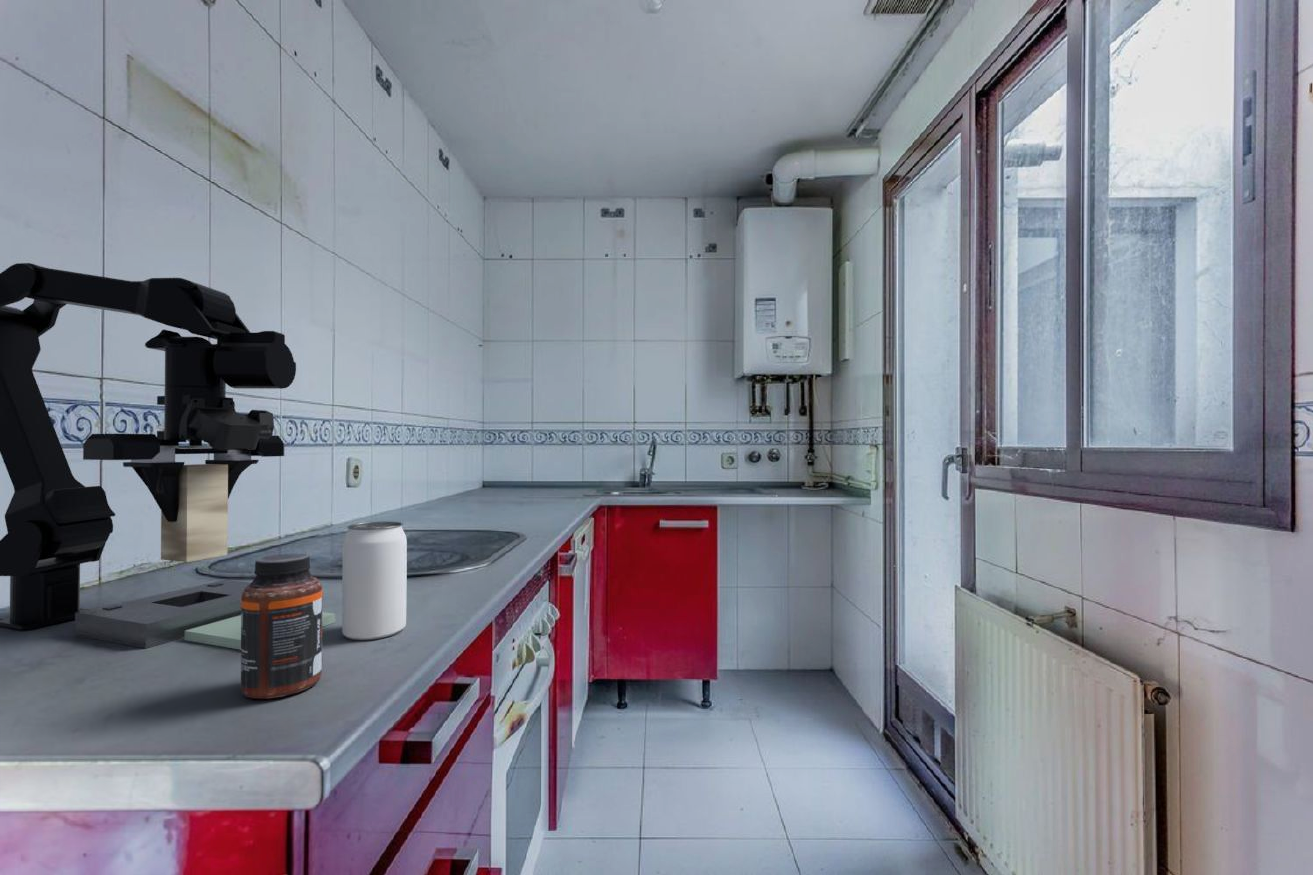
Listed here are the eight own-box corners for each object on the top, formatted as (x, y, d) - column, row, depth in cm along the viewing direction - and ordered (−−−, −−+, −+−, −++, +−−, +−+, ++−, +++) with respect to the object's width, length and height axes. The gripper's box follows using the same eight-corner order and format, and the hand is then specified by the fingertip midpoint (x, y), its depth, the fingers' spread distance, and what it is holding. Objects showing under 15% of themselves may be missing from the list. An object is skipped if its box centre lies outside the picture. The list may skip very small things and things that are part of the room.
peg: (160, 559, 67) (161, 465, 67) (202, 552, 71) (202, 464, 71) (186, 562, 66) (187, 465, 66) (227, 554, 70) (228, 464, 70)
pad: (184, 640, 61) (184, 630, 61) (274, 613, 71) (274, 605, 71) (250, 651, 58) (250, 641, 58) (335, 622, 68) (335, 613, 68)
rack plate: (75, 635, 63) (75, 611, 63) (226, 597, 78) (226, 578, 78) (145, 648, 59) (145, 623, 59) (290, 606, 74) (290, 586, 74)
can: (380, 643, 61) (381, 529, 61) (328, 639, 62) (328, 528, 62) (418, 624, 67) (418, 521, 67) (369, 621, 68) (370, 520, 68)
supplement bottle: (338, 678, 52) (339, 552, 52) (274, 707, 46) (276, 566, 46) (289, 669, 54) (290, 548, 54) (223, 696, 48) (224, 560, 48)
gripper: (148, 377, 57) (147, 534, 57) (315, 393, 75) (315, 512, 75) (80, 381, 61) (79, 528, 61) (254, 395, 78) (254, 509, 78)
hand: (195, 519), depth 68 cm, fingers closed on peg, 4 cm apart
